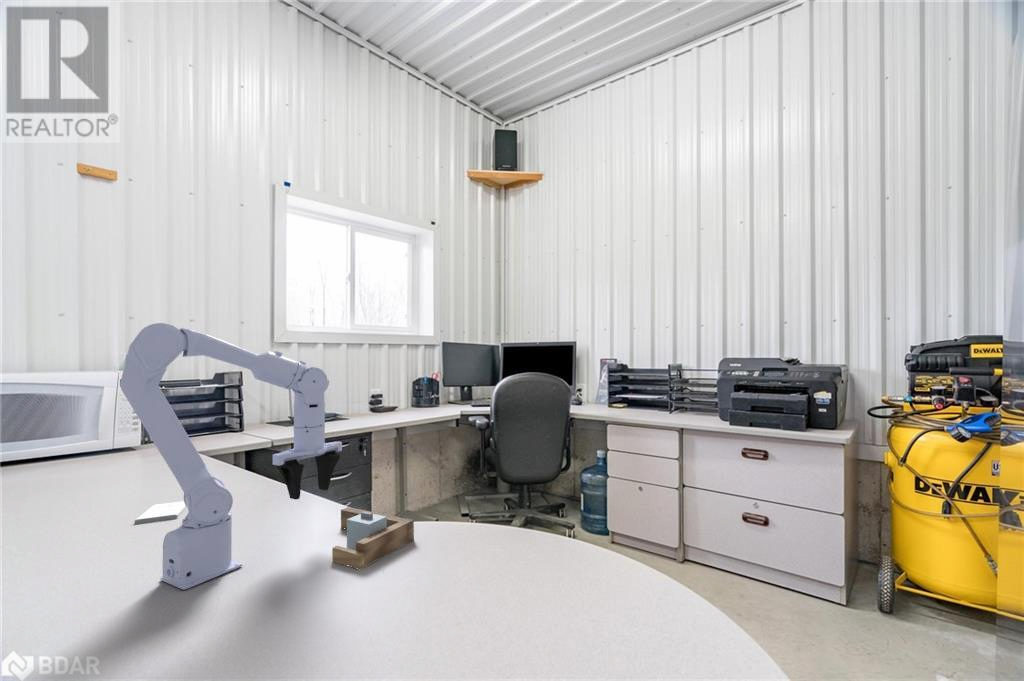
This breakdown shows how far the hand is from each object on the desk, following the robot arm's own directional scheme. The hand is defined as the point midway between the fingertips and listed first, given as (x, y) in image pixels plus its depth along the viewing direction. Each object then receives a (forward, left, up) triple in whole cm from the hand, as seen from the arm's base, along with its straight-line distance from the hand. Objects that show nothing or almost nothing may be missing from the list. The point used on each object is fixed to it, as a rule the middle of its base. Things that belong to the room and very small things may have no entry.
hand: (309, 493), depth 89 cm
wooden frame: (+3, -9, -10) cm, 14 cm away
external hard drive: (-4, +50, -11) cm, 52 cm away
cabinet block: (+3, -13, -10) cm, 16 cm away
